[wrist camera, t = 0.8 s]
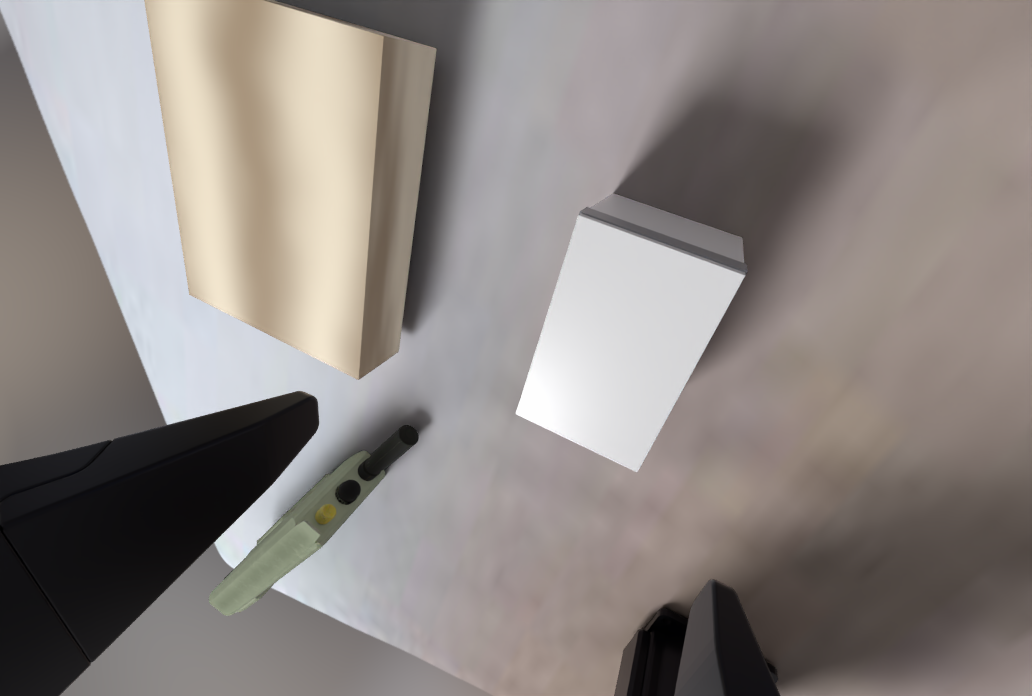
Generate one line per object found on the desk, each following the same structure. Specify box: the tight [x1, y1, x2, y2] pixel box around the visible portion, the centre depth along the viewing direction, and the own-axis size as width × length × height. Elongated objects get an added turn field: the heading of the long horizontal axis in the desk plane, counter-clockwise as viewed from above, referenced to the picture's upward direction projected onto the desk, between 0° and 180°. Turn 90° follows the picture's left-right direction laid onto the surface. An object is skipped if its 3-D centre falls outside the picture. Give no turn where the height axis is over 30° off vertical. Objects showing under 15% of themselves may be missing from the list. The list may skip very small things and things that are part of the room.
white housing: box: [516, 193, 748, 472], centre depth 17 cm, size 5×8×5 cm, turn 165°
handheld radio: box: [209, 425, 419, 616], centre depth 32 cm, size 7×3×25 cm
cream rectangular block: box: [144, 0, 437, 380], centre depth 21 cm, size 11×14×4 cm
